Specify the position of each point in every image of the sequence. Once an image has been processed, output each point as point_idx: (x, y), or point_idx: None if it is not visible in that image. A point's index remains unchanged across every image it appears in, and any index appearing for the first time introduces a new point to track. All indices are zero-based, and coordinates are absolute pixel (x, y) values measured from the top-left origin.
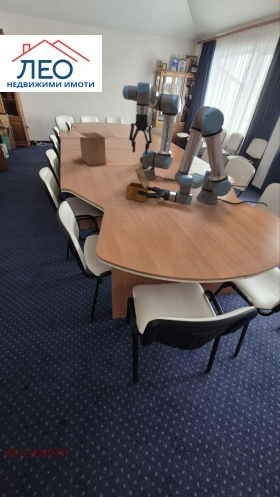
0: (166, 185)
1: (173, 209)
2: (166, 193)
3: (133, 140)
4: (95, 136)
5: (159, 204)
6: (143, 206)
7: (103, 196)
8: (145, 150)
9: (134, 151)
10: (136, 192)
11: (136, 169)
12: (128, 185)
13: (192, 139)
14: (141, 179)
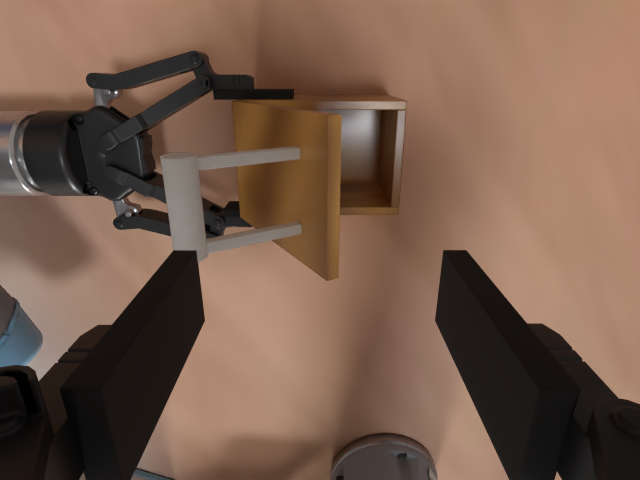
0: (229, 413)
1: (22, 82)
2: (46, 124)
3: (594, 441)
4: None
5: (139, 113)
6: (221, 18)
7: (562, 33)
8: (164, 287)
9: (441, 297)
10: (309, 98)
11: (326, 132)
12: (396, 120)
13: None
14: (267, 128)
